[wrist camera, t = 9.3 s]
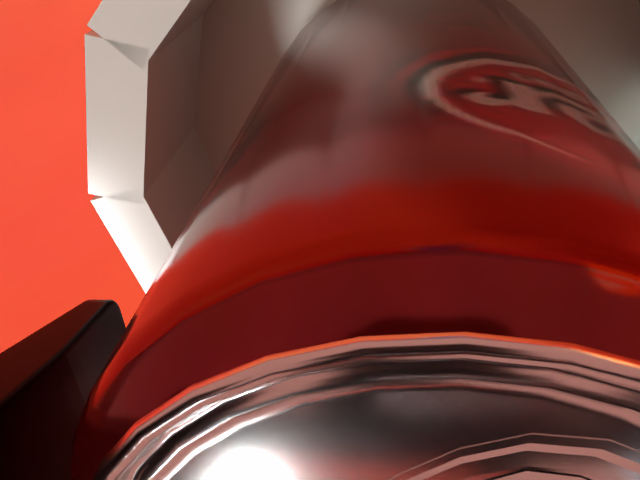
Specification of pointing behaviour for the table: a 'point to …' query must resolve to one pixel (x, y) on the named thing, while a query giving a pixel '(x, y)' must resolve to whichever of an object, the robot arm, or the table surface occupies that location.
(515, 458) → the soda can
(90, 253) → the table surface
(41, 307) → the table surface
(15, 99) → the table surface
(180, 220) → the bowl
